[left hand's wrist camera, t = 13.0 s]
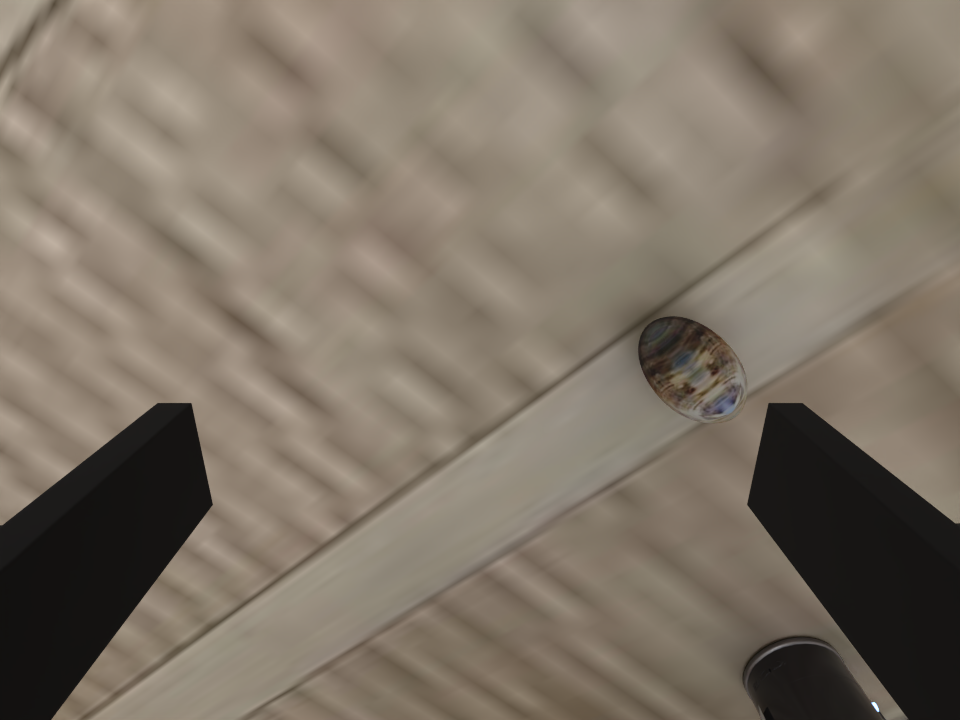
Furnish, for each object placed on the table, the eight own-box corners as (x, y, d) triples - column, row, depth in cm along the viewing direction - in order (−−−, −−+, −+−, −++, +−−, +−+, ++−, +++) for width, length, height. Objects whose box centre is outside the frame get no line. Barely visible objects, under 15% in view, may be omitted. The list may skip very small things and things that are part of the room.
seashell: (742, 368, 42) (799, 415, 34) (682, 415, 43) (725, 471, 36) (665, 282, 39) (708, 313, 32) (604, 335, 41) (632, 377, 33)
